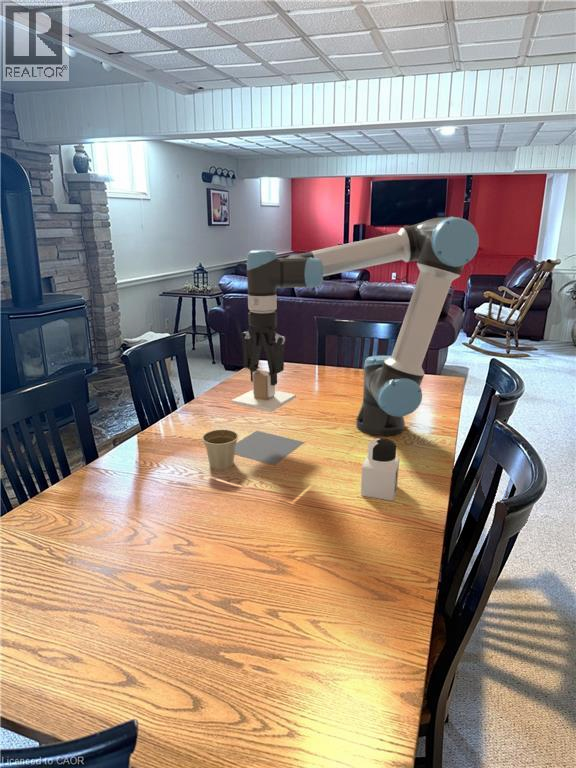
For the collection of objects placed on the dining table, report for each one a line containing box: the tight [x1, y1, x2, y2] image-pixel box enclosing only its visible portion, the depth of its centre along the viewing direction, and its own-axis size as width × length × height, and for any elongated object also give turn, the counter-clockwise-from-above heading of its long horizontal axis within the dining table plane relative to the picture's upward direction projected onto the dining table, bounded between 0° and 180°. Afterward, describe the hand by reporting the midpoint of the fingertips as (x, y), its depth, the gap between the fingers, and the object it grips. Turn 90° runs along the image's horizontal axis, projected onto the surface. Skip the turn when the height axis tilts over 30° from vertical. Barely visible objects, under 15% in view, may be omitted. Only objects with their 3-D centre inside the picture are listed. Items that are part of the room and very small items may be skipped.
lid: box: [230, 369, 297, 413], centre depth 138 cm, size 13×13×8 cm
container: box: [360, 437, 400, 502], centre depth 119 cm, size 8×8×13 cm
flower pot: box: [201, 428, 239, 471], centre depth 132 cm, size 9×9×9 cm
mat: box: [234, 430, 305, 466], centre depth 143 cm, size 17×17×1 cm
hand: (264, 394), depth 138 cm, fingers closed on lid, 4 cm apart
